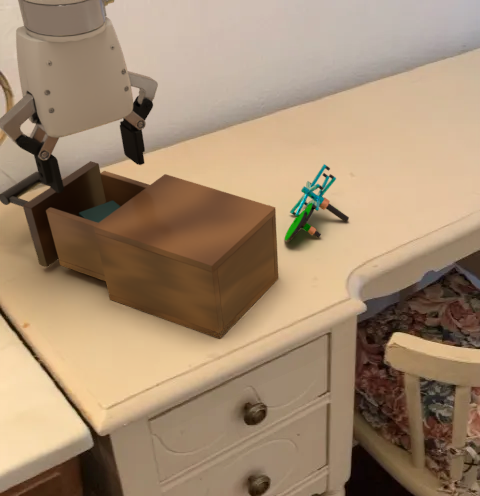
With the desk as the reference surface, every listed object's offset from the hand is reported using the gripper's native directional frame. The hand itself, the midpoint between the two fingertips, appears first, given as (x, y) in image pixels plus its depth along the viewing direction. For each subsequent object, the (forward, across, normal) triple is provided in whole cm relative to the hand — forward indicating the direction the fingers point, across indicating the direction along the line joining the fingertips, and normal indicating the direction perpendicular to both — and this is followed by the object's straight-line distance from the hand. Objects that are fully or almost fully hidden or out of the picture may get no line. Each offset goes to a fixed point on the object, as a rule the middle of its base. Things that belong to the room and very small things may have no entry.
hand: (95, 173), depth 91 cm
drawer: (+11, +1, -2) cm, 11 cm away
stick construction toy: (+12, -24, +10) cm, 28 cm away
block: (+10, 0, 0) cm, 10 cm away
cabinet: (+11, -4, +11) cm, 16 cm away
